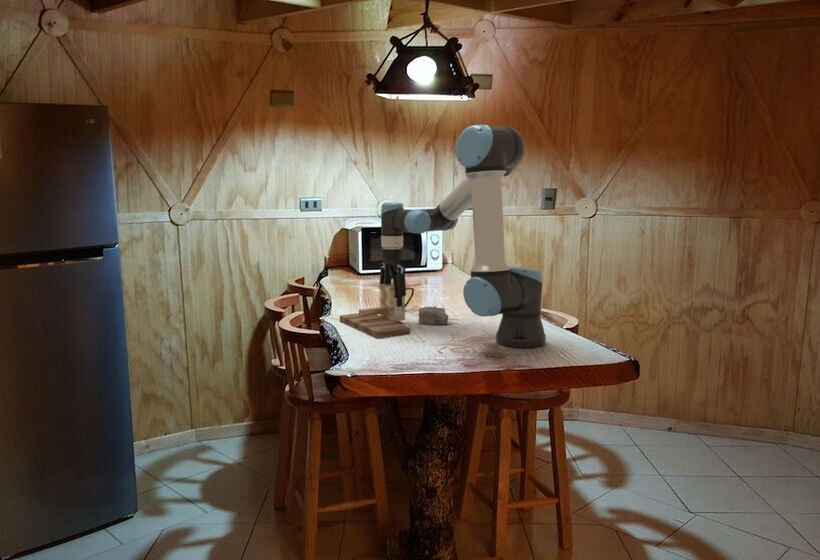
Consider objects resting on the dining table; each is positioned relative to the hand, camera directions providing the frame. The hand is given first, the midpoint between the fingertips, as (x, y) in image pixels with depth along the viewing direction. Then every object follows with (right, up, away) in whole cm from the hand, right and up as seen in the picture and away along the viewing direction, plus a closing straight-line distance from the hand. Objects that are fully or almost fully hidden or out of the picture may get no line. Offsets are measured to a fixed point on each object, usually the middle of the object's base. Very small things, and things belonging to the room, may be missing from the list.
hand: (392, 313), depth 217 cm
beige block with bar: (-4, -2, -2) cm, 5 cm away
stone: (+14, -4, 0) cm, 15 cm away
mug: (+2, 0, +19) cm, 19 cm away
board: (-6, -4, -7) cm, 10 cm away
